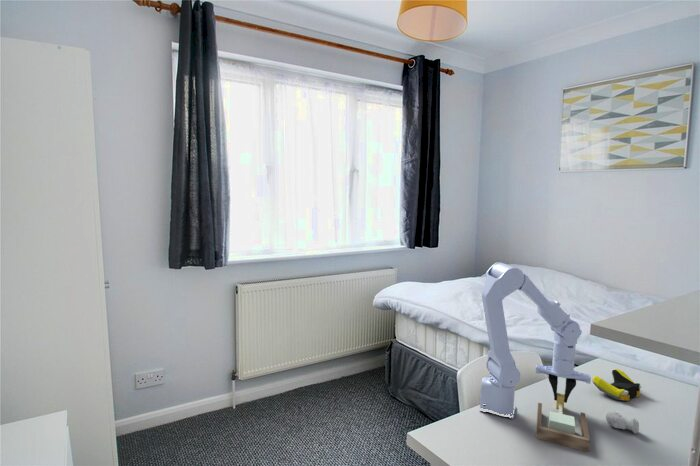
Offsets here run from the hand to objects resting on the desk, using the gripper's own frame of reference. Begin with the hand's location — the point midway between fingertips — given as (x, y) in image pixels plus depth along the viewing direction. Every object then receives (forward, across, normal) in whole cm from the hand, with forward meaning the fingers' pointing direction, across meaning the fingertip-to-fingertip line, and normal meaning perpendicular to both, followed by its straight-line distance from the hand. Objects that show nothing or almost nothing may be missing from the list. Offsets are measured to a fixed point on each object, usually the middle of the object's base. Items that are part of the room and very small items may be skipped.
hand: (560, 399), depth 120 cm
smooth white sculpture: (+3, -15, +4) cm, 16 cm away
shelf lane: (+2, 0, +13) cm, 13 cm away
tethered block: (+2, 0, +8) cm, 8 cm away
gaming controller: (+3, -17, -19) cm, 26 cm away
